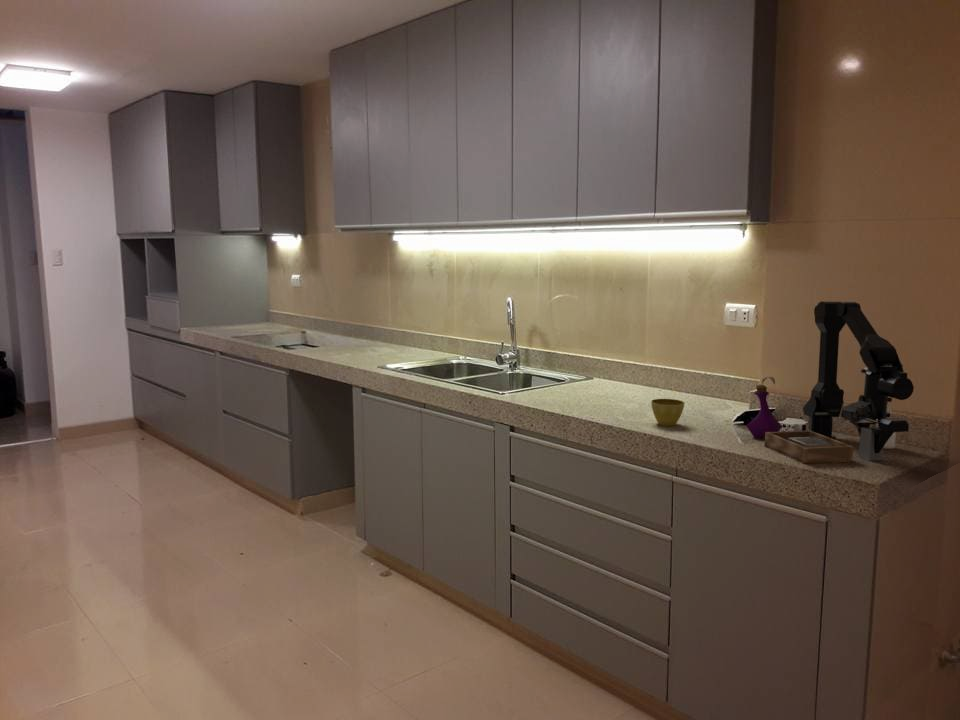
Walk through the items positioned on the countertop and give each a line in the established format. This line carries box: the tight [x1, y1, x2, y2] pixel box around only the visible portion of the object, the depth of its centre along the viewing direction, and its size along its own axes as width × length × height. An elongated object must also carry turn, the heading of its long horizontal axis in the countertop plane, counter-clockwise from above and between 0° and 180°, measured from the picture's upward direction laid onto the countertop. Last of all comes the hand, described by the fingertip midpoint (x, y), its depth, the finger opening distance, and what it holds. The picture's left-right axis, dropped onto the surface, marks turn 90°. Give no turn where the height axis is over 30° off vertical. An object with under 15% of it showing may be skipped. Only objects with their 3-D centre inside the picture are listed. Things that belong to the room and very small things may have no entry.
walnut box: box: [764, 430, 854, 464], centre depth 208 cm, size 18×14×4 cm
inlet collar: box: [788, 437, 833, 448], centre depth 207 cm, size 8×8×3 cm
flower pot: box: [650, 398, 685, 427], centre depth 241 cm, size 10×10×7 cm
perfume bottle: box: [746, 376, 783, 440], centre depth 225 cm, size 8×8×18 cm
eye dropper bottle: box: [875, 405, 897, 450], centre depth 215 cm, size 4×6×12 cm
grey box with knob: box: [858, 424, 884, 462], centre depth 203 cm, size 4×4×9 cm
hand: (871, 450), depth 204 cm, fingers closed on grey box with knob, 4 cm apart
